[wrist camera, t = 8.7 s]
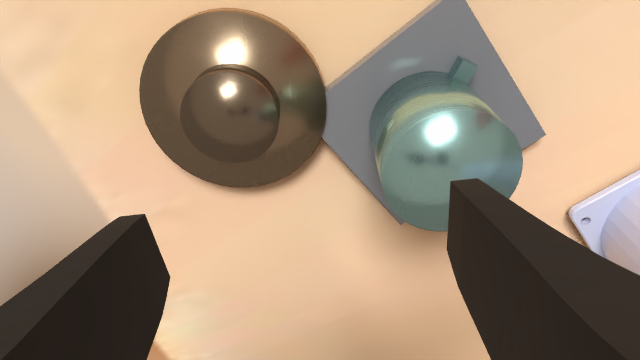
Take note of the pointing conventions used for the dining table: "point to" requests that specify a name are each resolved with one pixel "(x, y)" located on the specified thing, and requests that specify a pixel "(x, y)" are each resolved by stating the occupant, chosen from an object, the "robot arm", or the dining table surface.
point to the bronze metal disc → (233, 97)
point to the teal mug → (439, 144)
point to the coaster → (413, 57)
